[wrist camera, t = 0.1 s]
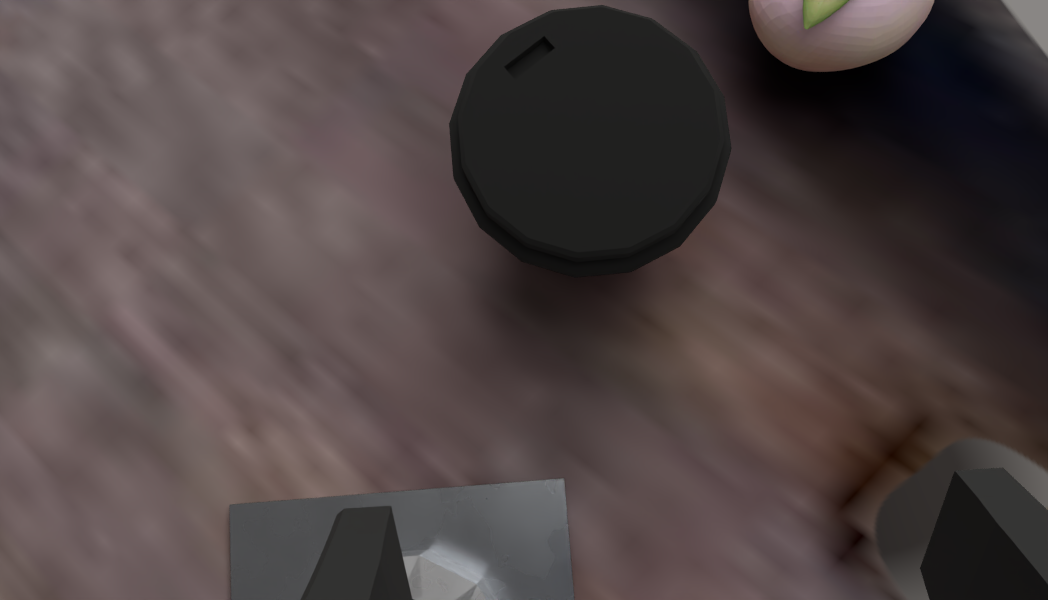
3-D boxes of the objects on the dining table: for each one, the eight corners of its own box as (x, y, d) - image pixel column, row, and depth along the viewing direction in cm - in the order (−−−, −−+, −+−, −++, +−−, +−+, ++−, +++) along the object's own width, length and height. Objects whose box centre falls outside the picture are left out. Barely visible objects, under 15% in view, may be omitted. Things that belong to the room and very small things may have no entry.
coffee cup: (430, 199, 46) (387, 108, 34) (595, 71, 47) (608, -61, 35) (566, 365, 44) (569, 329, 32) (735, 228, 45) (798, 145, 33)
